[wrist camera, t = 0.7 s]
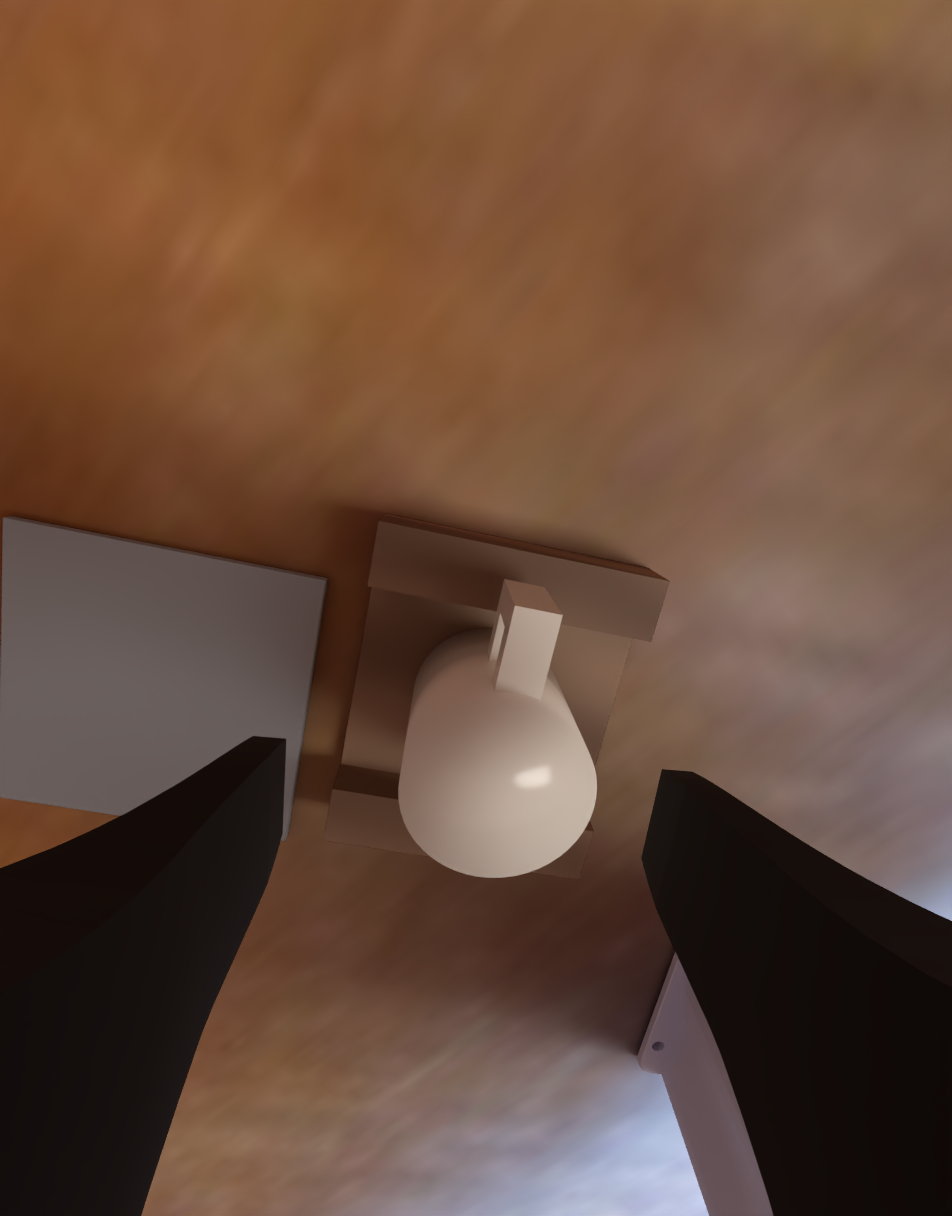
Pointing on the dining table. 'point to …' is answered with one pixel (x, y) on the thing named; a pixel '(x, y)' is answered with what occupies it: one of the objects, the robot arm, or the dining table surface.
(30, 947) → the robot arm
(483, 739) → the cream jug
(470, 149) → the dining table surface
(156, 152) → the dining table surface
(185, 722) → the grey mat
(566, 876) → the walnut cradle
